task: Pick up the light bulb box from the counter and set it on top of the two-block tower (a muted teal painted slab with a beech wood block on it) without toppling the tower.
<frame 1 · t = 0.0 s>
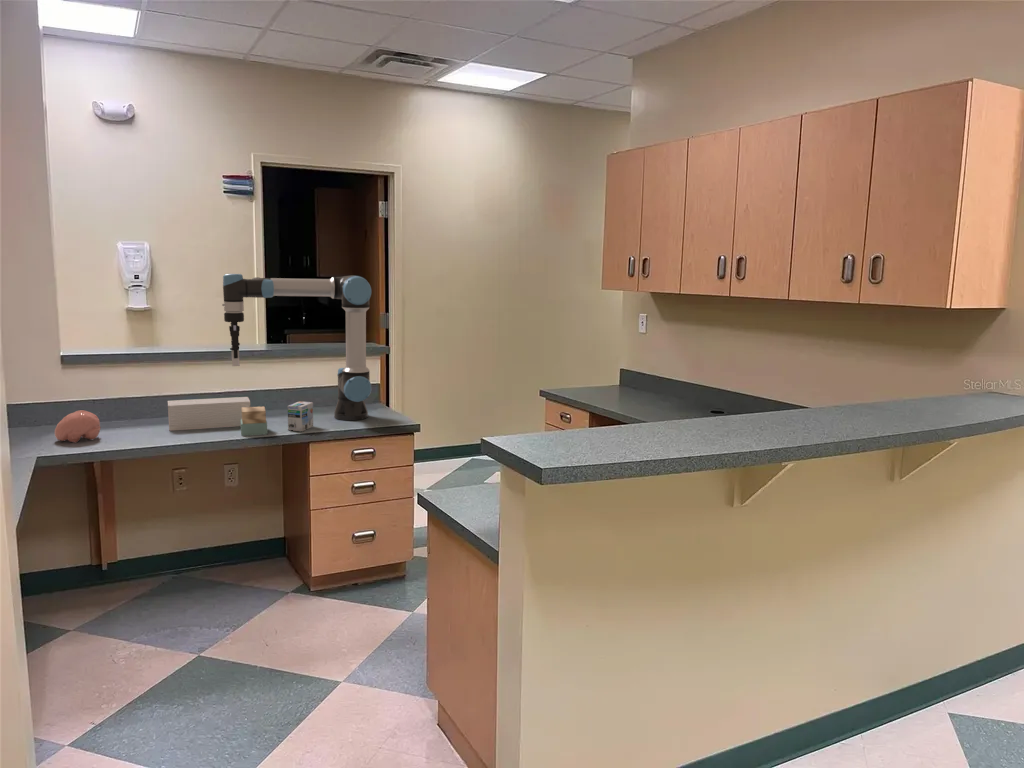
hand: (235, 363, 303), 28 cm above the counter, fingers open, 13 cm apart
tower base slab: (253, 432, 305), on the counter, touching tower top block
tower top block: (253, 420, 305), point 5 cm above the counter, touching tower base slab
pale grey long block: (210, 426, 315), on the counter
light bulb box: (300, 428, 314), on the counter
brain: (78, 440, 285), on the counter
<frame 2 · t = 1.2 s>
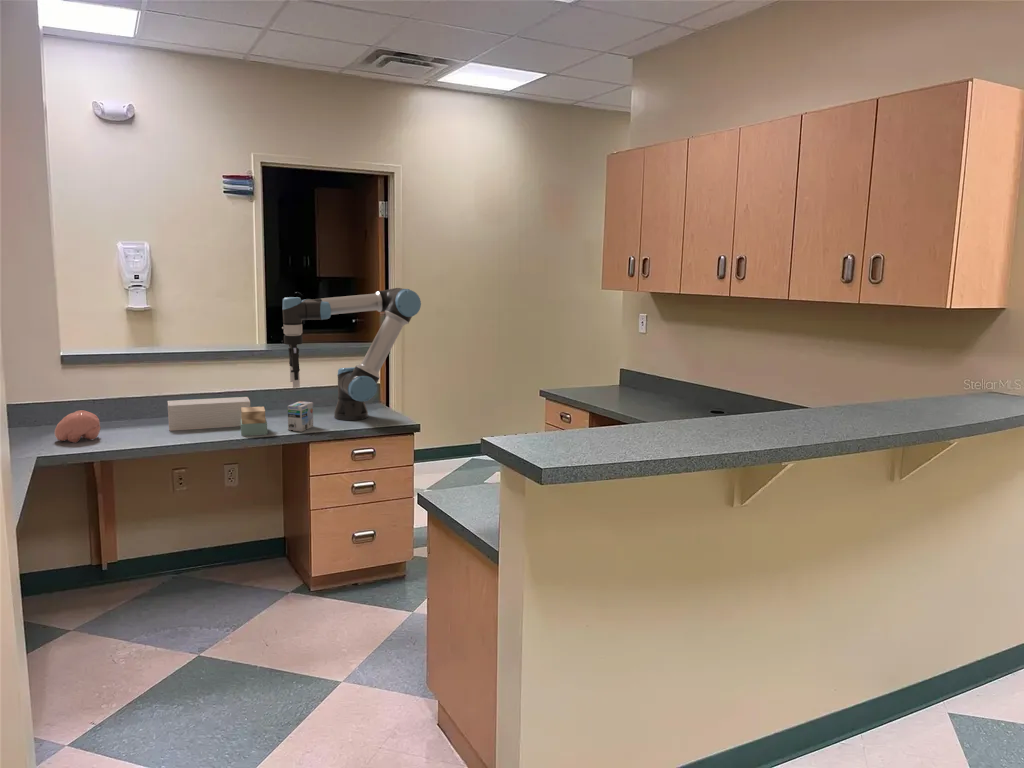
hand: (295, 384, 311), 19 cm above the counter, fingers open, 13 cm apart
nothing on the counter moved.
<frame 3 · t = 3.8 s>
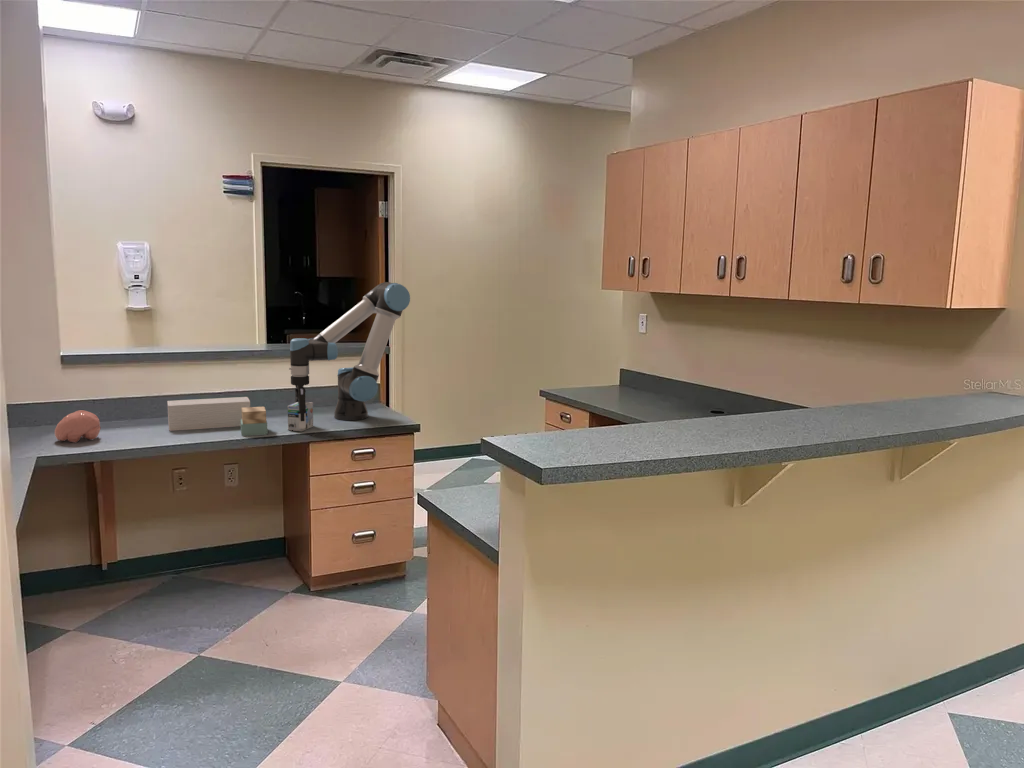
hand: (300, 425, 314), 1 cm above the counter, fingers closed on light bulb box, 12 cm apart
light bulb box: (300, 428, 314), on the counter, touching gripper
everything else where it was.
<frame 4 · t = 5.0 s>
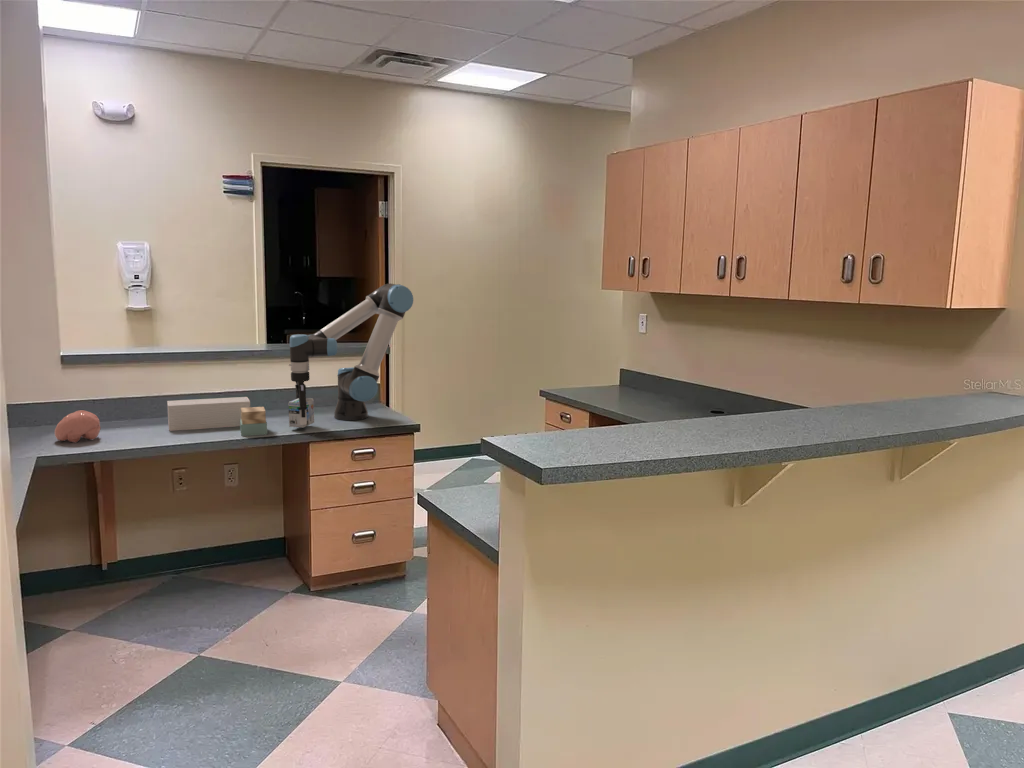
hand: (301, 421, 314), 3 cm above the counter, fingers closed on light bulb box, 12 cm apart
tower base slab: (253, 433, 305), on the counter
tower top block: (253, 421, 304), point 5 cm above the counter
light bulb box: (302, 425, 314), point 1 cm above the counter, touching gripper
everything else where it was.
when the fingers open (13 cm above the counter, at t = 10.2 s): light bulb box drops 2 cm, resting on tower top block.
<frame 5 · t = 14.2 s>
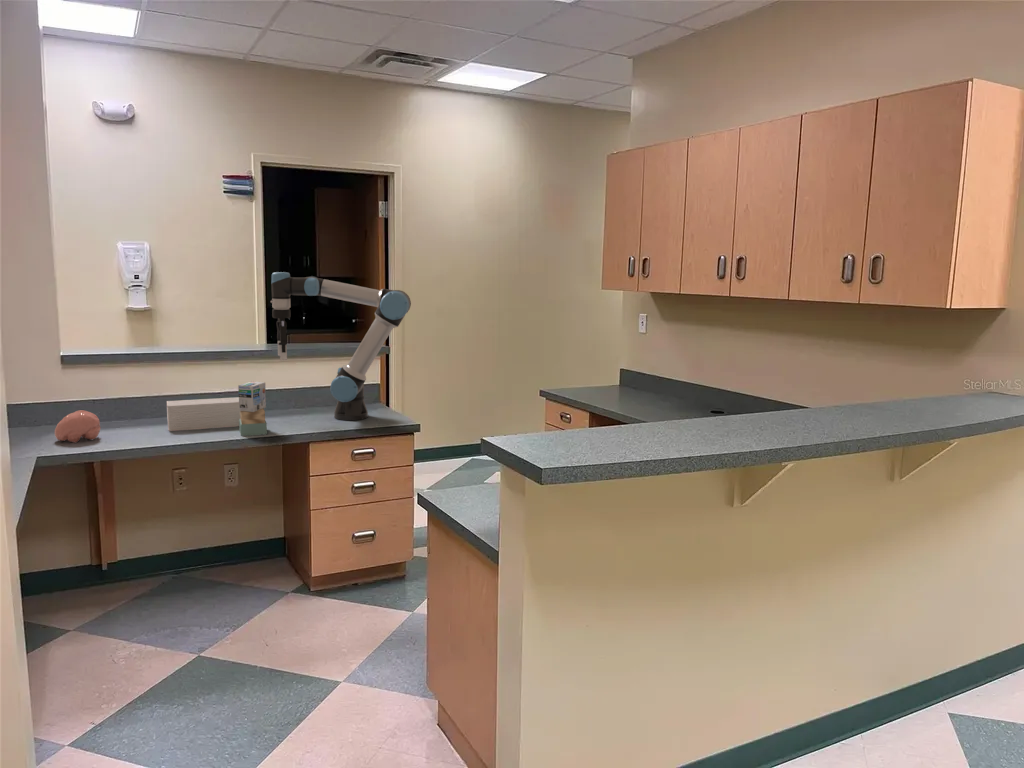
hand: (282, 357, 319), 29 cm above the counter, fingers open, 13 cm apart
tower base slab: (253, 432, 305), on the counter, touching tower top block
tower top block: (252, 421, 304), point 5 cm above the counter, touching light bulb box, tower base slab
light bulb box: (252, 409, 304), point 9 cm above the counter, touching tower top block
everything else where it was.
at the end: light bulb box 0.4 cm from the tower top block (horizontally); light bulb box point 9.4 cm above the counter; tower top block tilted 0° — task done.
